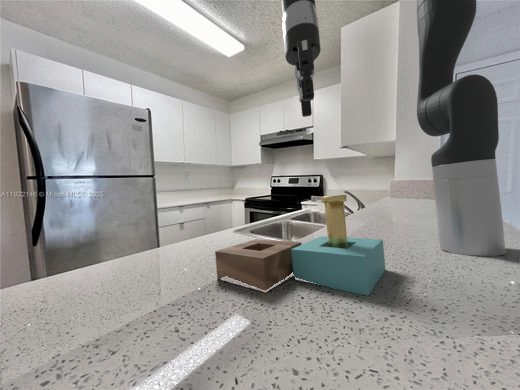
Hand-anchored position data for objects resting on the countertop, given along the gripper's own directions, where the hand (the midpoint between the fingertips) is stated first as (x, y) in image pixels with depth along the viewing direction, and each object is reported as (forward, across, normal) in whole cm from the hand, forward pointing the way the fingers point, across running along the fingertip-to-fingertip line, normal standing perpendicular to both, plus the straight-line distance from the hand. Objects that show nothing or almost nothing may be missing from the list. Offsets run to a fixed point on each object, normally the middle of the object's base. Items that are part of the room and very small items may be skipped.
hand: (307, 108), depth 46 cm
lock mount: (+32, -10, +11) cm, 35 cm away
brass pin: (+32, -10, -2) cm, 34 cm away
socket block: (+32, -10, -2) cm, 34 cm away
